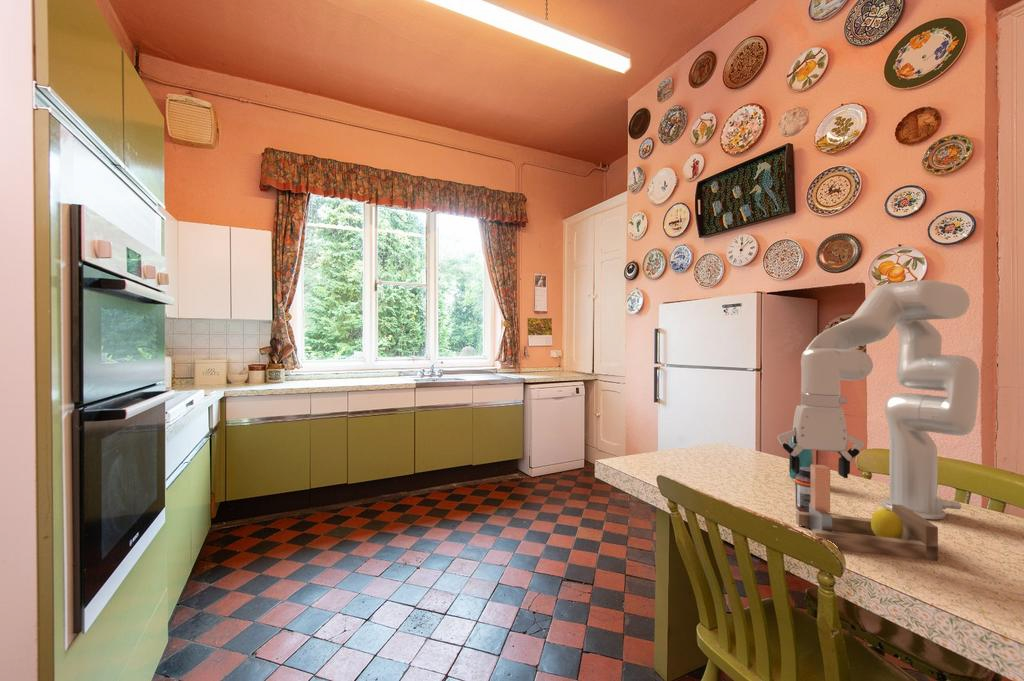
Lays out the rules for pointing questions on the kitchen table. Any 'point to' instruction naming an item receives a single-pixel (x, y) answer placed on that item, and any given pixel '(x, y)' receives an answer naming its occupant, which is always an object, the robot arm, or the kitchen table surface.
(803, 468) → the supplement bottle
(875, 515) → the lemon
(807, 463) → the beverage bottle
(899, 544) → the frame
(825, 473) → the sliding jaw
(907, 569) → the kitchen table surface
